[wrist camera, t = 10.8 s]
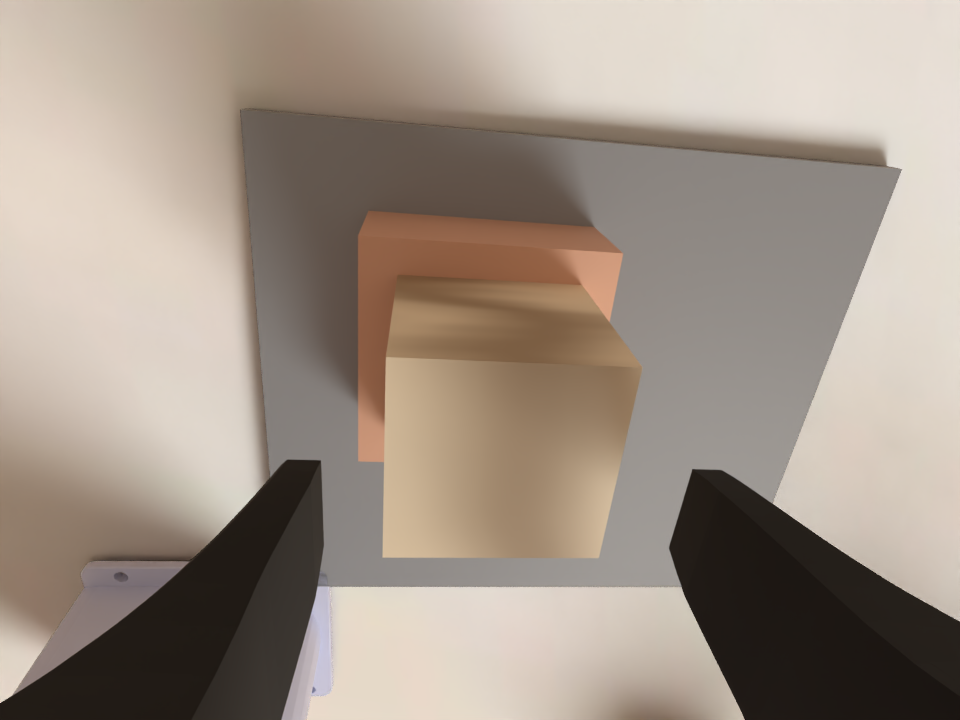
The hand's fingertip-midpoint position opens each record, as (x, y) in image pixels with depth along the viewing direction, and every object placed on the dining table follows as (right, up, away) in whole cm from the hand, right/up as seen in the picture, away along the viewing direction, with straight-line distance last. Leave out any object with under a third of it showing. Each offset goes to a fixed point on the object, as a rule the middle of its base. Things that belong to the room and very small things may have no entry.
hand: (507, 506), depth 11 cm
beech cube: (0, +3, +5) cm, 6 cm away
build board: (+2, +2, +10) cm, 11 cm away
